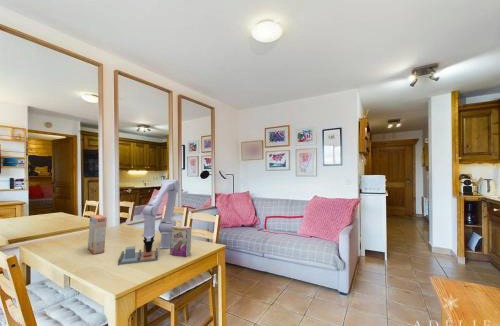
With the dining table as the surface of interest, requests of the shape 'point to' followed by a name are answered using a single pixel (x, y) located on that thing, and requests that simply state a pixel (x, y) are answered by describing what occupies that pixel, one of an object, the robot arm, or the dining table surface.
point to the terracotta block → (147, 252)
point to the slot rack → (138, 257)
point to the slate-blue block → (130, 252)
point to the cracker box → (97, 234)
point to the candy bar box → (180, 241)
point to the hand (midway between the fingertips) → (148, 250)
